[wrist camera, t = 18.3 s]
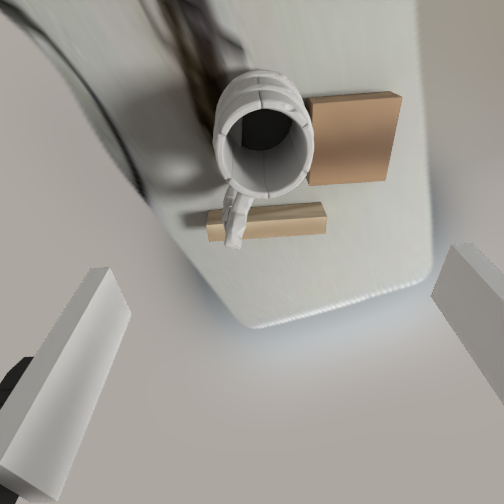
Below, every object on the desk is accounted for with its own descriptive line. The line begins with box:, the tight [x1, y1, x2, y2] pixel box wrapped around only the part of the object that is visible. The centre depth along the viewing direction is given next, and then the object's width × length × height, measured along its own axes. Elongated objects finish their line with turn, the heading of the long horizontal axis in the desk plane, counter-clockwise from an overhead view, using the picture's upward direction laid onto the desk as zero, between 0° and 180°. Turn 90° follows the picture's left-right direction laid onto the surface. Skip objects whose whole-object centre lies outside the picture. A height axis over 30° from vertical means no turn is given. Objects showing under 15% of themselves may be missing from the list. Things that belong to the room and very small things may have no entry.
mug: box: [212, 70, 314, 250], centre depth 23 cm, size 8×12×12 cm, turn 159°
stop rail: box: [206, 202, 327, 242], centre depth 32 cm, size 2×12×3 cm, turn 94°
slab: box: [306, 91, 402, 186], centre depth 27 cm, size 7×7×3 cm
